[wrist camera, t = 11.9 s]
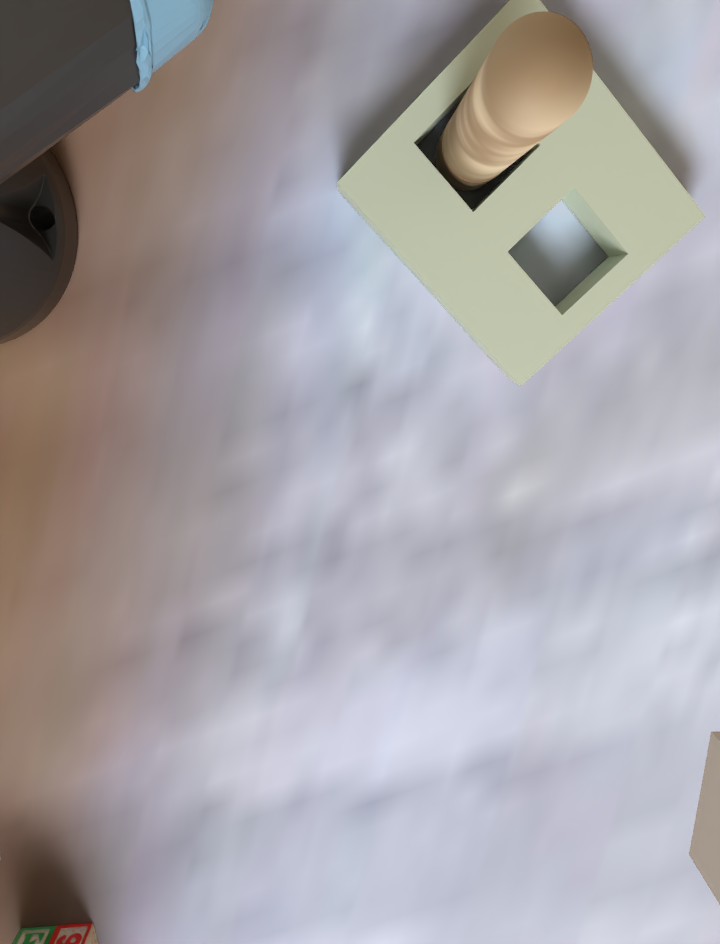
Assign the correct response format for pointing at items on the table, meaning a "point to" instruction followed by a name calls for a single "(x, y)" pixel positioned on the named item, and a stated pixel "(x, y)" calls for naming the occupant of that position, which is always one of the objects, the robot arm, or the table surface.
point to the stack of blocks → (58, 934)
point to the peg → (515, 98)
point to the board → (520, 213)
